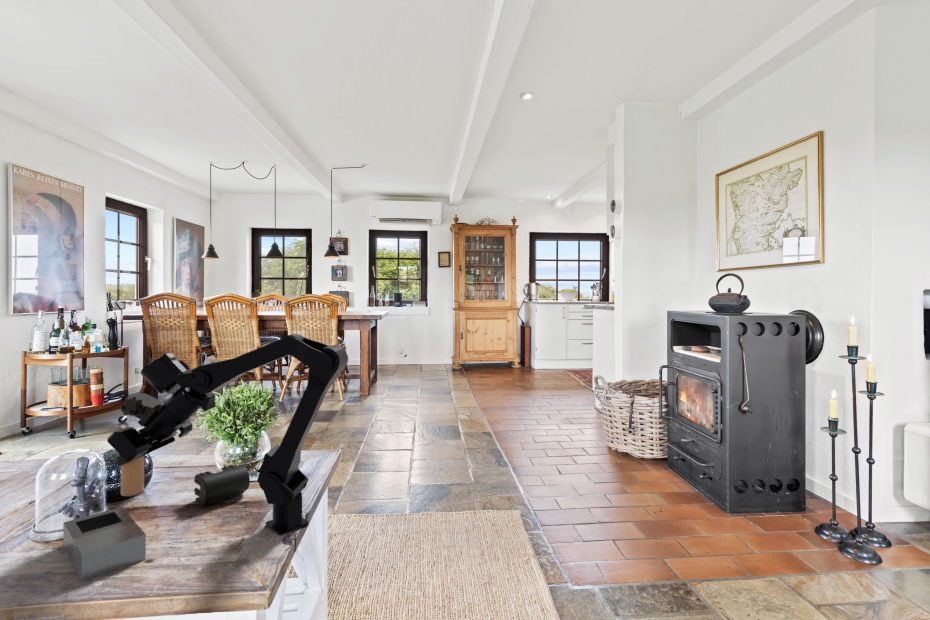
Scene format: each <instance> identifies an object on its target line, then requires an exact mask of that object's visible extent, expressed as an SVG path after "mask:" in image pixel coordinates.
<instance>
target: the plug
mask: <svg viewBox="0 0 930 620" xmlns="http://www.w3.org/2000/svg"><path fill="white" fill-rule="evenodd" d="M144 491H145V455H144V456H142V457H140V458H138V459H135V460H133V461H131V462H128V463H126V464H124V465H122V466H120V496H122V497H132V496H136V495H140V494H142V493H144Z"/></svg>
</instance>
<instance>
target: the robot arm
mask: <svg viewBox="0 0 930 620" xmlns="http://www.w3.org/2000/svg"><path fill="white" fill-rule="evenodd" d="M287 356H290V357H293V358H294V359H295V360H297V361H299V362H300V363H302V364H303V365H305V366H308V367H309V368H308V371H307V385H306V387H305V390H304V392H303V394H302V396H301V397H300V401H299V403H298V405H297V407H296V410H295V412H294V414H293V416H292V418H291V421H290V422H289V425H288V427H287V429H286V431H285V433H284V436H283V438H282V441H281V443H280V445H278V444H276V445H275V446H274V447H273V448H271V449H270V450H269V451H268V452H266V453H264V456H263V459H262V462H261V465H260V467H259V468H258V469H257V470H256V474H257V473H258V476H257V484H258V485H259V487H260V489H261V490H262V491H263V493H264V494H263V495H264V496H265V499H266V503H267V504H268V505H269V504H270V505H272V519H270V520H268V521H265V526H266V527H268V528H269V529H271V530H272V531H273V532H275V533H276V534H277V535H280V536H281V535H284V534H288V533H289V532H292V531H294V530H298V529H300V528H302V527H305V526H307V525H309V523H310V521H309V520H308V519H306V518H304V517H303V493H302V491H303V490H304V489H306V487H307V485H308V483H309V478H308V476H306V475H305V474H304V472H303V471H302V470H300V468H299V467H300V465H301V464H300V462H301V458H302V457H301V454H302V448H303V446H304V443H305V441H306V439H307V437H308V436H309V435H308V434H309V433H310V430H311V428H312V425H313V423H314V422H315V419H316V418H317V415H318V412H319V410H320V408H321V406H322V403H323V401H324V399H325V397H326V395H327V393H328V392H329V389H330V388H331V386H333V384H334V383H335V381H336V380H338V378H339V376H340V375H341V374H342V372H343V371H344V370H345V368H346V366H347V365H348V363H349V362H348V361H349V355H348V353H347V351H346V350H345V348H344V347H343V346H340V345H337V344H331V345H328V344H326V343H323V342H319V341H316V340H313V339H310V338H307V337H305V336H303V335H301V334H300V333H299V334H298V333H292V334H288V335H284V336H283V337H281V338H280V339H278V340H275V341H273V342H270V343H268V344H266V345H265V344H264V345H263V346H261V347H258V348H256V349H252V350H251V351H248V352H246V353H243V354H241V355H239V356H235V357H234V358H228V359H224V360H219V361H215V362H210V363H207V364H203V365H198V366H196V367H195V368H192V369H186V367H185V366H184V365H183V364H182V363H181V362H180V361H179V360H178V359H177V357H176V356H175V355H174V353H172V352H168V353H164V354H163V355H161V356H160V357H158V358H156V359H155V360H153V361H151V362H150V363H147V364H145V366H144V367H142V368H141V371H140V375H141V376H142V377H143V378H144V379H145V380H146V381H147V382H148V383H149V384H150V386H152V387H153V388H154V390H156V391H157V392H158V394H162V395H163V394H164V393H166V394H168V395H170V394H172V395H171V396H170V397H169V398H168V399H167V400H166V401H165V402H162V401H161V400H160V399H157V398H155V397H154V396H152V395H149V394H147V393H143V392H140V393H136V394H132V395H130V396H128V397H127V398H125V399H124V401H122V402H121V403H120V406H121V407H120V411H121V413H123V414H126V415H128V416H129V417H132V416H133V417H135V418H136V419H139V420H138V421H137V423H138V424H139V426H141V427H143V428H140V429H138V430H137V429H136V428H135V427H134V426H133V427H132V426H127V427H123V428H121V429H118V430H115V431H114V432H112V433H111V434H110V435H109V436H108V437H107V439H106V442H107V443H108V444H109V445H110V446H111V447H112V449H114V450H115V451H116V453H118V454H119V456H118V458H117V460H116V461H115V463H116V464H117V466H118V467H121V466H122V465H124V464H126V463H128V462H131V461H133V460H135V459H138V458H140V457H142V456H144V457H145V456H147V455H148V454H150V453H152V452H154V451H156V450H159V449H160V448H162V447H165V446H167V445H170V444H172V443H174V442H175V441H176V438H175V436H176V435H178V436H177V437H178V438H179V439H181V438H183V437H186V436H188V435H189V433H191V431H192V430H193V422H191V421H192V418H191V417H192V416H193V415H195V413H196V412H198V411H199V410H200V409H202V411H204V412H208V411H209V410H212V409H214V408H216V401H215V395H209V393H211V392H214V391H218V390H220V389H223V388H225V387H227V386H229V385H231V384H232V383H233V382H235V381H237V380H238V379H239V378H241V377H242V376H243V375H245V374H247V373H248V372H251V371H253V370H255V369H258V368H260V367H263V366H267V365H268V364H271V363H273V362H275V361H278V360H281V359H283V358H285V357H287ZM178 431H179V432H180V433H179V432H178ZM178 433H179V434H178Z"/></svg>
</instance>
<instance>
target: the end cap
mask: <svg viewBox="0 0 930 620" xmlns="http://www.w3.org/2000/svg"><path fill="white" fill-rule="evenodd" d="M220 470H221V471H217V472H214V473H213V472H211V471H205V472H200V473H196V474H195V476H194V481H193V482H194V483H195V484H196V485H198V486H199V488H198V487H194V490H193V492H194V494H195V496H197V497H195V502H196V503H198V505H200V506H202V507H204V506H208V505H212V504H215V503H217V502H220V501H224V500H227V499H230V498H233V497H236V496H239V495H242V494H244V493H245V492H246V491H248V489H249V487H250V485H251V484H250V483H251V479H250V473H249V470H248V468H247V467H246V466H245V465H240V466H235V465H233V464H229V465H227V466H222V467H221V469H220Z"/></svg>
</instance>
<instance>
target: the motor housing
mask: <svg viewBox="0 0 930 620" xmlns="http://www.w3.org/2000/svg"><path fill="white" fill-rule="evenodd" d="M62 528H63V534H62V535H63V543H62V544H63V548H64V551H65V553H66V554H67V556H68V557H69V560H70V562H71V564H72V566H73V568H74V569H75V571H76V573H77V575H78V577H79V579H80V581H81V582H83V581H86V580H89V579H92V578H96V577H99V576H100V575H104V574H107V573H111V572H112V571H115V570H118V569H121V568H124V567H126V566H131V565H132V564H135V563H138V562H140V561H144V560H146V558H147V556H146V555H147V553H146V549H147V548H146V546H147V545H146V543H147V542H146V541H147V540H146V539H147V535H146V533H145V531H144V530H143V529H142V527H140V526H139V525H138V524H137V523H136V521H134V519H133V518H132V517H131V516H130V515H129V514H128V513H127V511H126V510H125V509H124V508H123V507H122V506H120V507H117V508H113V509H109V510H104V511H102V512H98V513H95V514H94V513H93V514H90V515H87V516H83V517H79V518H75V519H71V520H68V521H63V526H62Z"/></svg>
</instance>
